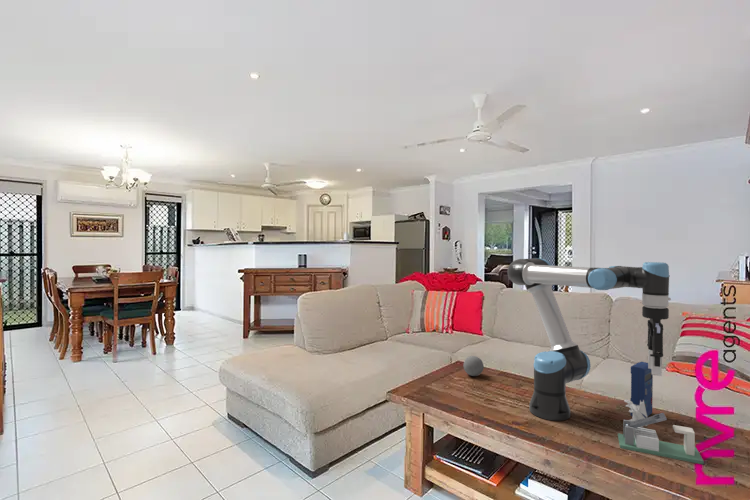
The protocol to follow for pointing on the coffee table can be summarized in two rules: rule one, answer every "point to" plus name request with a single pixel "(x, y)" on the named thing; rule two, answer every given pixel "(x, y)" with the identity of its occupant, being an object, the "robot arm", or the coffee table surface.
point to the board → (653, 444)
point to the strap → (646, 421)
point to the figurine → (636, 410)
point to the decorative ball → (473, 366)
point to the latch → (687, 438)
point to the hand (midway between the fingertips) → (654, 371)
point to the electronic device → (642, 386)
